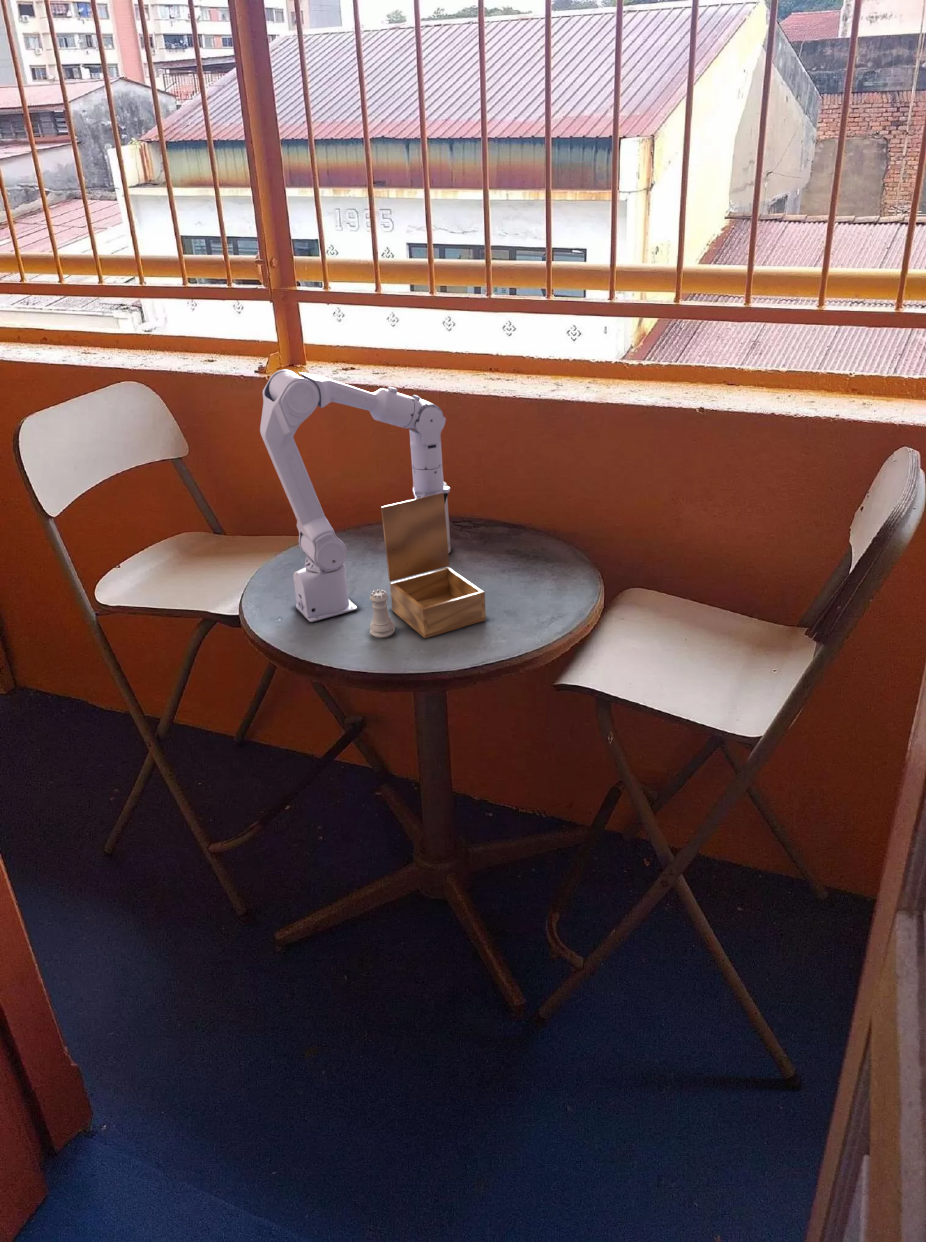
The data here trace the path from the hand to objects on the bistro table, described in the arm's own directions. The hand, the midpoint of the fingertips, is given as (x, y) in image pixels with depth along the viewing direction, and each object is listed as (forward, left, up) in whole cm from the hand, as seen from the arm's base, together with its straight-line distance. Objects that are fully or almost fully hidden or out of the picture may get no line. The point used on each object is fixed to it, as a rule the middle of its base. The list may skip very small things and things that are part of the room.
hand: (431, 533), depth 178 cm
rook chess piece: (-18, -14, -10) cm, 25 cm away
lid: (-7, -7, +3) cm, 10 cm away
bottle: (+8, +13, -10) cm, 18 cm away
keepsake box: (-7, -14, -10) cm, 18 cm away
